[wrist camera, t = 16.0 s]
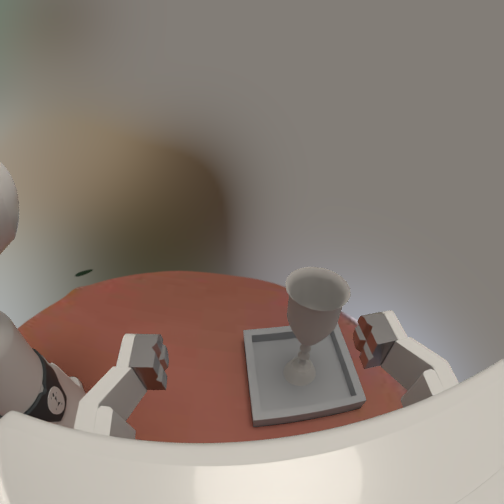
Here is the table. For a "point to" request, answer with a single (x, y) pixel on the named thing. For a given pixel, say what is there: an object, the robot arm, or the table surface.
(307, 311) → the chalice
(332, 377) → the tray
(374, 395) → the table surface
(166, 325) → the table surface
